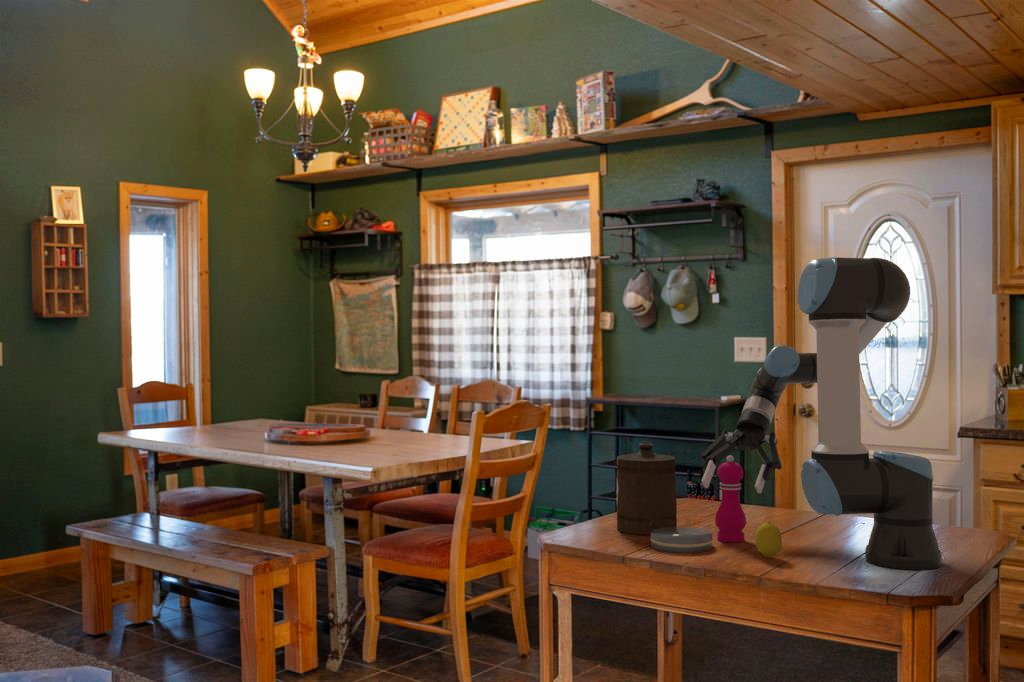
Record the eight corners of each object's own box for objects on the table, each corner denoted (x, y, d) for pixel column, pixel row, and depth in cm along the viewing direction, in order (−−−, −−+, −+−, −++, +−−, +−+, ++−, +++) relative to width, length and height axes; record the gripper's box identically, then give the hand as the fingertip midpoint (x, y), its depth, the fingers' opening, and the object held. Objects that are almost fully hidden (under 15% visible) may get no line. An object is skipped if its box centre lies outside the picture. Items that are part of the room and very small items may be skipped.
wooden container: (643, 521, 256) (643, 436, 255) (688, 529, 244) (688, 441, 244) (604, 529, 246) (603, 441, 246) (649, 538, 235) (648, 446, 234)
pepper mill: (744, 536, 235) (743, 453, 235) (748, 543, 228) (747, 457, 228) (713, 536, 236) (713, 453, 235) (716, 543, 228) (716, 457, 228)
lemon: (781, 556, 215) (781, 519, 215) (781, 561, 210) (781, 524, 209) (756, 554, 216) (755, 518, 216) (755, 560, 211) (755, 523, 211)
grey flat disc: (724, 549, 222) (724, 536, 222) (670, 555, 217) (670, 541, 217) (691, 537, 235) (691, 524, 235) (639, 542, 230) (639, 529, 230)
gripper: (808, 431, 240) (785, 501, 228) (714, 426, 255) (688, 491, 243) (800, 411, 235) (776, 482, 224) (705, 407, 250) (678, 473, 239)
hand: (730, 487), depth 233 cm, fingers open, 13 cm apart
